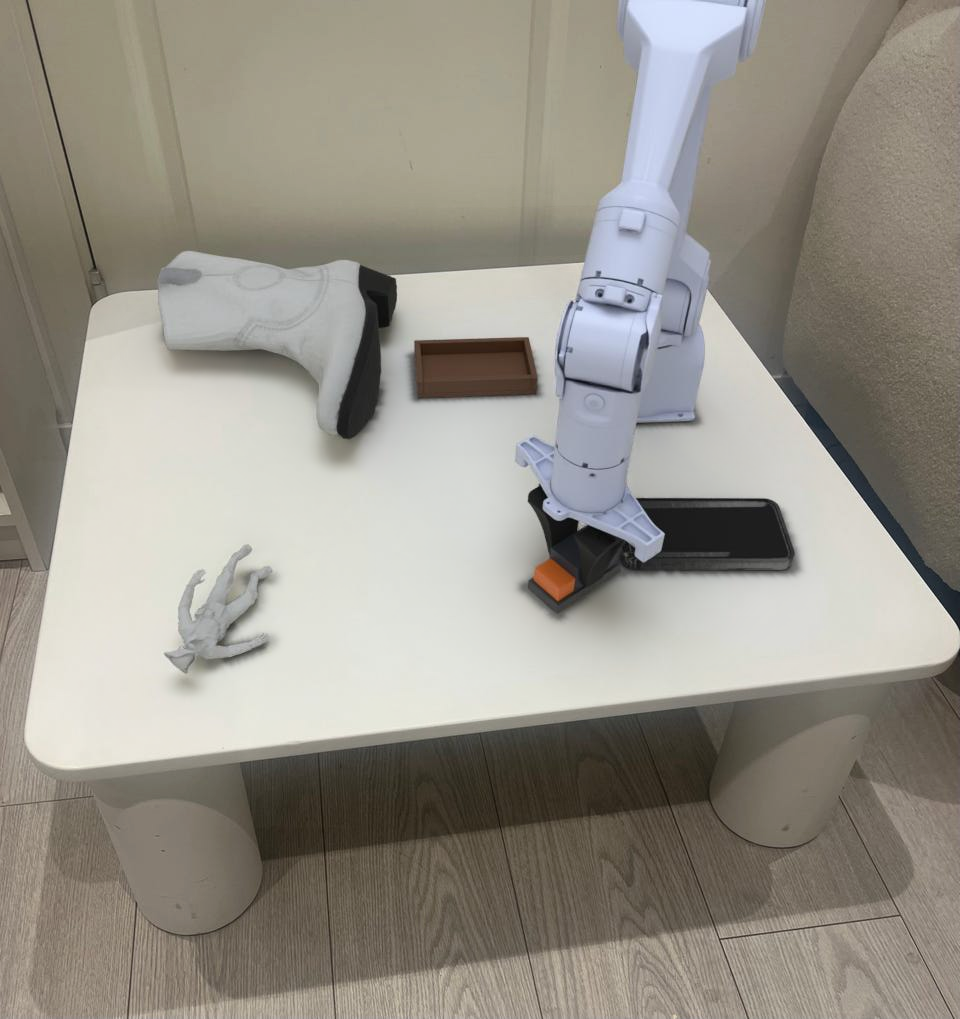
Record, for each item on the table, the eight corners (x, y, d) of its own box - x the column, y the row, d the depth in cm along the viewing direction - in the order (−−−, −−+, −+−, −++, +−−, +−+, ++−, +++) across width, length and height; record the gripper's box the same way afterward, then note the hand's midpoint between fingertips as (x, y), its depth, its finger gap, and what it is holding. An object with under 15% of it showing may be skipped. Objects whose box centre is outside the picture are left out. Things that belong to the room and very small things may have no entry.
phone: (612, 497, 92) (776, 498, 92) (611, 506, 92) (773, 506, 93) (624, 561, 86) (798, 561, 87) (622, 570, 87) (795, 570, 87)
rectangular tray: (527, 352, 109) (528, 336, 108) (536, 394, 104) (537, 377, 103) (414, 356, 108) (414, 340, 107) (417, 398, 103) (417, 381, 102)
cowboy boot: (404, 242, 110) (178, 226, 111) (356, 378, 89) (78, 356, 90) (406, 319, 116) (191, 304, 117) (361, 464, 95) (100, 443, 96)
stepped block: (590, 547, 89) (595, 516, 86) (620, 571, 87) (626, 540, 84) (527, 587, 85) (530, 557, 83) (557, 613, 83) (560, 583, 81)
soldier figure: (298, 594, 85) (250, 676, 75) (259, 622, 87) (207, 706, 76) (234, 527, 83) (176, 601, 73) (195, 557, 85) (132, 634, 74)
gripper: (489, 416, 77) (483, 539, 87) (626, 521, 70) (603, 643, 79) (556, 381, 81) (544, 503, 90) (694, 478, 73) (664, 600, 83)
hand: (576, 566), depth 85 cm, fingers closed on stepped block, 3 cm apart
